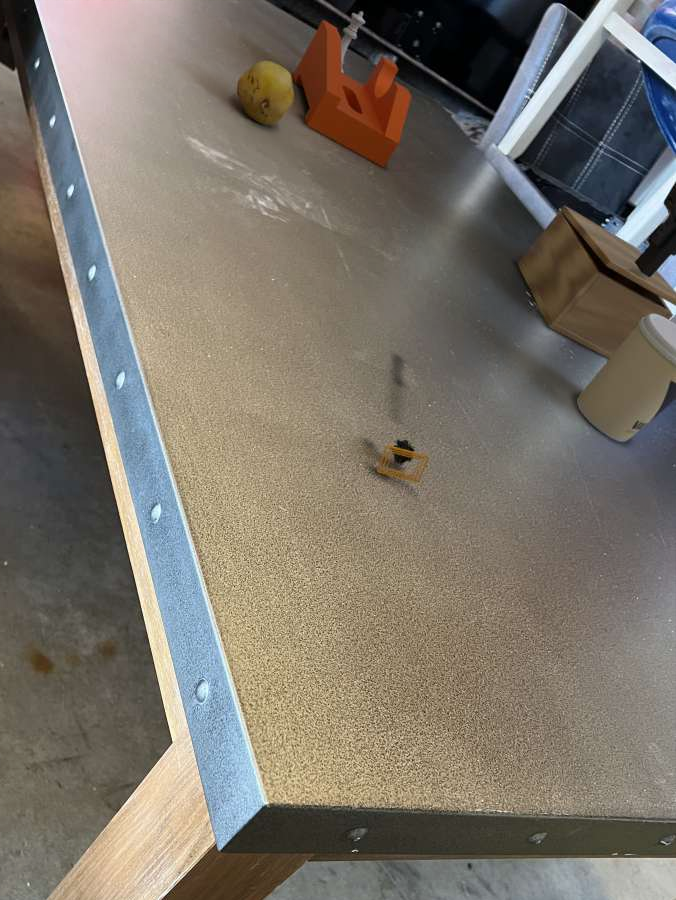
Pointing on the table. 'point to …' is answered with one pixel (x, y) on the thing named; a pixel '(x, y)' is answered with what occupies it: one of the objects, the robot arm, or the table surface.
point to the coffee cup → (634, 381)
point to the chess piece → (350, 33)
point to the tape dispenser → (352, 99)
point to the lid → (618, 255)
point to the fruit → (266, 92)
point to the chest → (584, 290)
